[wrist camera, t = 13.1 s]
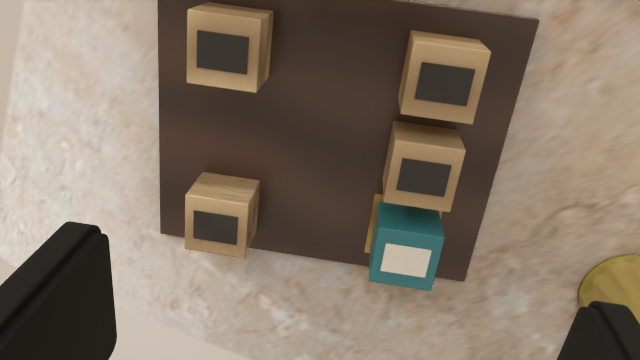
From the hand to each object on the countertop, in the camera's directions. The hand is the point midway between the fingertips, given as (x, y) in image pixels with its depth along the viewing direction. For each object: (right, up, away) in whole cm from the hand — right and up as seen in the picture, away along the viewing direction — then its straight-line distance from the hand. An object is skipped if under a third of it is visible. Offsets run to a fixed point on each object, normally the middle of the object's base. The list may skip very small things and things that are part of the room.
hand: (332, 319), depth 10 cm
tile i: (+7, +9, +21) cm, 24 cm away
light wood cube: (-5, +11, +21) cm, 24 cm away
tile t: (+6, +4, +23) cm, 24 cm away
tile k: (-6, +1, +26) cm, 27 cm away
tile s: (+5, -1, +25) cm, 26 cm away
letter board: (0, +6, +24) cm, 24 cm away
